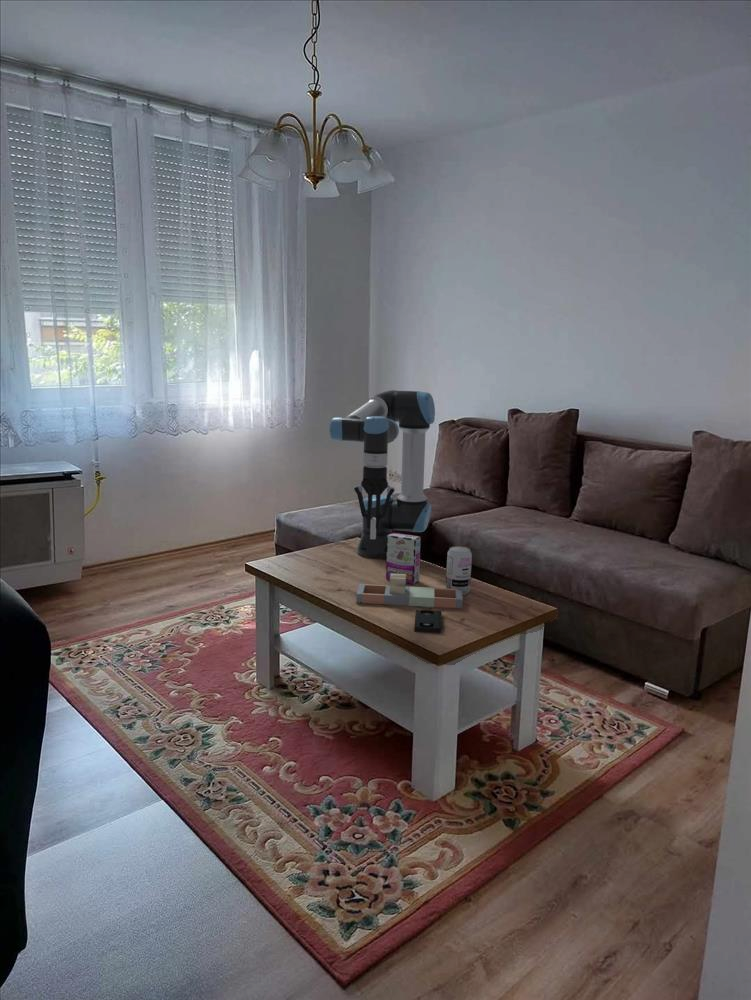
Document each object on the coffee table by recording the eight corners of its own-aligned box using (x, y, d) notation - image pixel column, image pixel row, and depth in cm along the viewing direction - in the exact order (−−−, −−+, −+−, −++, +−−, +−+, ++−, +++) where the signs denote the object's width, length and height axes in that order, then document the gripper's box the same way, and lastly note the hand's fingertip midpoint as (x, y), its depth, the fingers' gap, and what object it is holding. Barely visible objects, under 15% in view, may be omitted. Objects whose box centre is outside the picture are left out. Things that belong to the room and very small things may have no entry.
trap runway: (359, 592, 241) (359, 583, 240) (461, 597, 239) (461, 589, 238) (356, 602, 231) (356, 593, 231) (462, 608, 229) (462, 599, 228)
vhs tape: (415, 615, 223) (415, 609, 223) (441, 616, 223) (441, 610, 222) (414, 633, 209) (414, 626, 209) (441, 634, 209) (441, 628, 208)
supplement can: (452, 586, 250) (455, 544, 247) (473, 591, 245) (476, 549, 242) (441, 592, 244) (443, 549, 240) (462, 597, 239) (464, 554, 236)
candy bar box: (419, 581, 254) (421, 536, 251) (413, 585, 250) (415, 539, 247) (391, 575, 259) (393, 531, 256) (385, 579, 255) (386, 534, 252)
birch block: (390, 587, 237) (390, 573, 236) (405, 588, 237) (406, 574, 236) (389, 592, 232) (389, 578, 231) (404, 593, 232) (405, 579, 231)
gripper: (353, 466, 223) (351, 540, 228) (395, 468, 222) (392, 542, 227) (355, 463, 231) (354, 534, 236) (396, 464, 230) (394, 536, 235)
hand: (373, 538), depth 231 cm, fingers closed
